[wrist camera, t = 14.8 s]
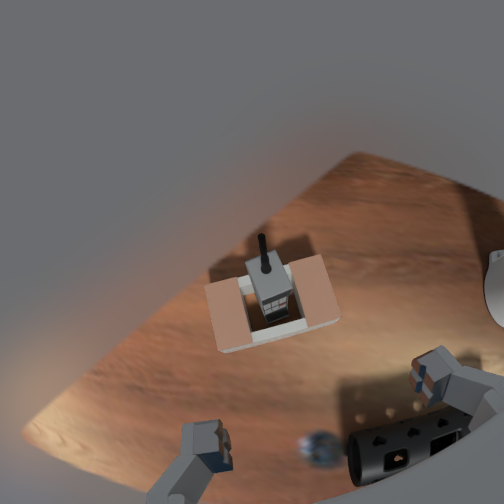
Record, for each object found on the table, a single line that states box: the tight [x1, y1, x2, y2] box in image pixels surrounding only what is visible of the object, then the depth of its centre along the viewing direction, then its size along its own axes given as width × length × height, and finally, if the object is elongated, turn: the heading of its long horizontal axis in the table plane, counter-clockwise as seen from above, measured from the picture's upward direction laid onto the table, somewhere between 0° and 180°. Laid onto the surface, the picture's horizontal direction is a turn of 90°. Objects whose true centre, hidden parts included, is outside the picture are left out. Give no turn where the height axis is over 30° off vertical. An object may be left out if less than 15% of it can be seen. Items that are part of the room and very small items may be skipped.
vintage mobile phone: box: [245, 233, 293, 324], centre depth 36 cm, size 4×5×25 cm
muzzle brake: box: [347, 406, 473, 487], centre depth 31 cm, size 10×28×10 cm, turn 93°
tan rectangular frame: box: [204, 254, 342, 353], centre depth 45 cm, size 18×10×6 cm, turn 104°
